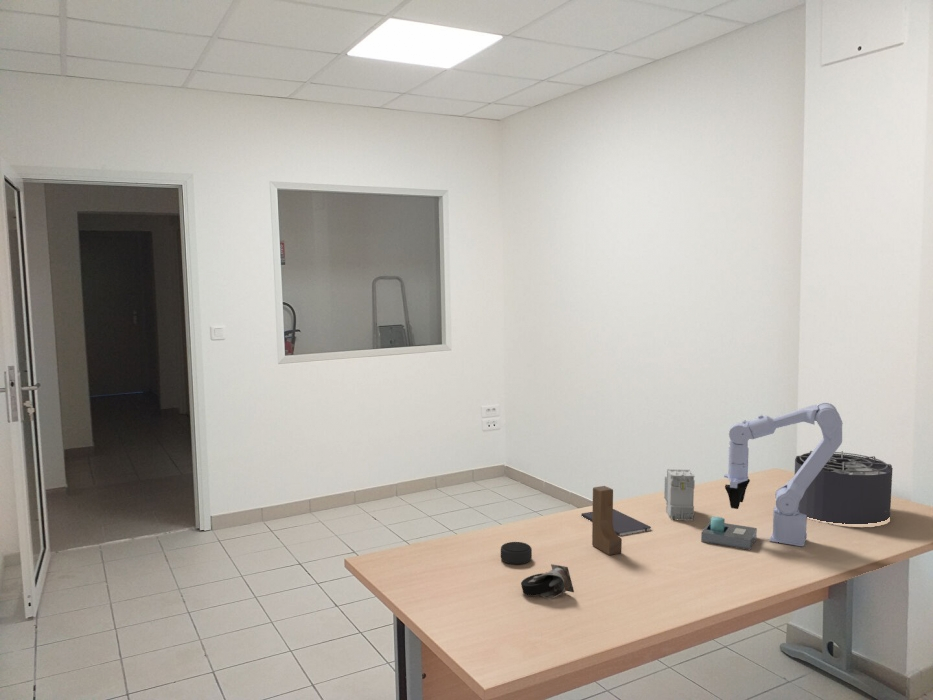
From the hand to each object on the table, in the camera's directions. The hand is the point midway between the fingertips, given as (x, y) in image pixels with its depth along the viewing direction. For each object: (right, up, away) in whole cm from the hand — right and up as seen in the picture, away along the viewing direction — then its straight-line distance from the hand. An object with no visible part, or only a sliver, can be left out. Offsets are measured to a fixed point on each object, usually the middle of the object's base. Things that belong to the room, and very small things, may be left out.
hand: (736, 505), depth 229 cm
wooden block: (-43, -11, -11) cm, 46 cm away
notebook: (-35, -9, +12) cm, 39 cm away
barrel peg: (-7, -10, -2) cm, 12 cm away
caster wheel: (-65, -14, -41) cm, 78 cm away
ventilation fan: (+43, -7, +21) cm, 48 cm away
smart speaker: (-70, -12, -18) cm, 73 cm away
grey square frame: (-4, -10, -4) cm, 11 cm away
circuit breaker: (-12, -8, +22) cm, 26 cm away
